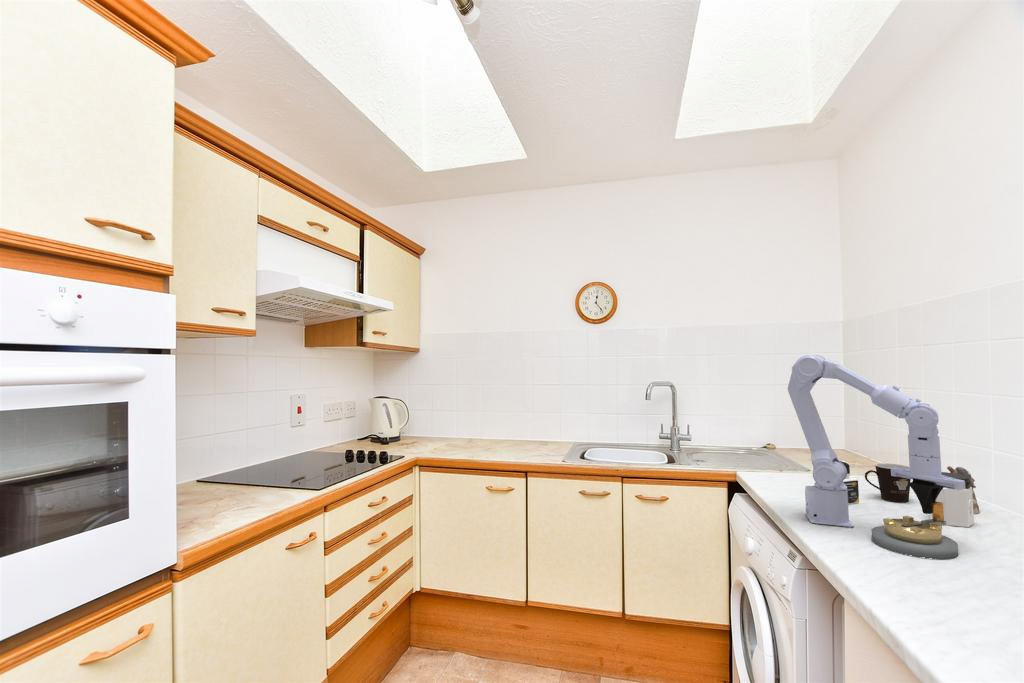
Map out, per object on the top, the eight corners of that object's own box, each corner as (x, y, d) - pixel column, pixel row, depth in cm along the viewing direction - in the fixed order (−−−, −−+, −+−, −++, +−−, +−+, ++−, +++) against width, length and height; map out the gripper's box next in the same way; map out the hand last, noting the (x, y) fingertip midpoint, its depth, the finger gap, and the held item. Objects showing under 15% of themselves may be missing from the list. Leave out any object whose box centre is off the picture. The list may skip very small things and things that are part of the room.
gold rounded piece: (919, 546, 101) (917, 514, 102) (873, 531, 111) (872, 501, 111) (967, 540, 105) (965, 508, 105) (919, 525, 114) (917, 496, 115)
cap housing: (883, 553, 103) (882, 544, 103) (863, 530, 117) (863, 522, 117) (972, 563, 97) (971, 553, 98) (940, 538, 111) (940, 530, 111)
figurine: (983, 515, 127) (980, 470, 127) (948, 511, 130) (945, 468, 131) (975, 508, 133) (972, 465, 133) (941, 505, 137) (939, 463, 137)
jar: (967, 529, 117) (964, 480, 117) (925, 521, 123) (922, 474, 124) (978, 522, 122) (974, 475, 122) (936, 514, 128) (934, 470, 129)
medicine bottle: (841, 505, 138) (839, 464, 138) (819, 499, 145) (817, 459, 145) (859, 503, 140) (857, 462, 140) (837, 496, 147) (835, 457, 147)
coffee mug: (910, 498, 144) (908, 465, 144) (916, 505, 136) (914, 470, 137) (863, 493, 150) (861, 461, 150) (866, 500, 142) (864, 466, 143)
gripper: (973, 459, 106) (977, 520, 106) (903, 449, 120) (907, 503, 120) (951, 462, 104) (955, 524, 104) (883, 451, 118) (886, 505, 118)
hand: (928, 513), depth 111 cm, fingers closed
